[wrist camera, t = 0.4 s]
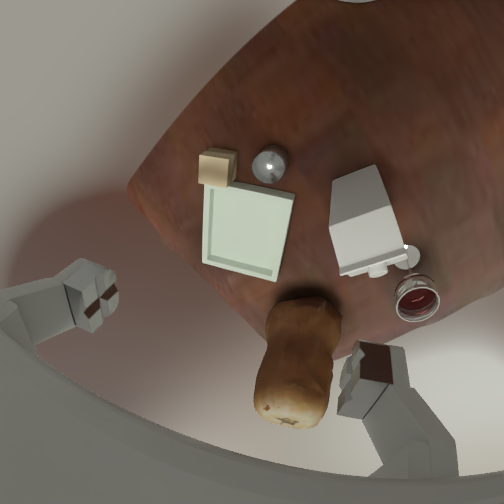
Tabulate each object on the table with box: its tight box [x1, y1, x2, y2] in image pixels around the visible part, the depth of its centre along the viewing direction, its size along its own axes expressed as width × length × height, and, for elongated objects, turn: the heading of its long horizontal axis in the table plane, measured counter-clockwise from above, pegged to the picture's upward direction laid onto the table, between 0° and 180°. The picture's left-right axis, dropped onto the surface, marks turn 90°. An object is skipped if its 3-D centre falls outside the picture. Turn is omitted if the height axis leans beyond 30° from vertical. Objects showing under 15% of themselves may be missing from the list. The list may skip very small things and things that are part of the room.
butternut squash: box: [254, 296, 342, 429], centre depth 48 cm, size 14×13×25 cm
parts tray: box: [202, 181, 295, 282], centre depth 51 cm, size 16×14×2 cm
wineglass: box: [394, 245, 440, 322], centre depth 42 cm, size 7×7×12 cm
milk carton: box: [329, 164, 408, 278], centre depth 35 cm, size 7×7×19 cm
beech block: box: [198, 148, 238, 188], centre depth 45 cm, size 4×4×4 cm
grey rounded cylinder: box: [252, 145, 289, 183], centre depth 42 cm, size 4×4×5 cm
